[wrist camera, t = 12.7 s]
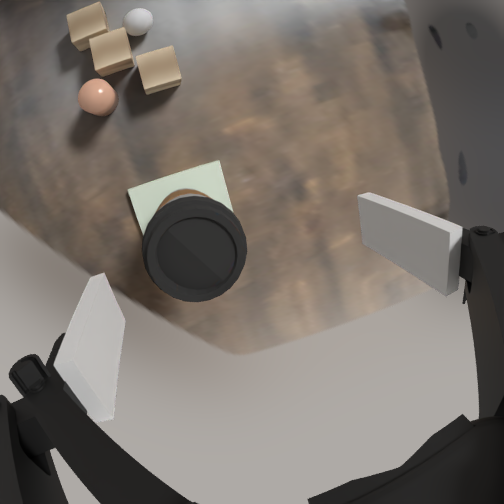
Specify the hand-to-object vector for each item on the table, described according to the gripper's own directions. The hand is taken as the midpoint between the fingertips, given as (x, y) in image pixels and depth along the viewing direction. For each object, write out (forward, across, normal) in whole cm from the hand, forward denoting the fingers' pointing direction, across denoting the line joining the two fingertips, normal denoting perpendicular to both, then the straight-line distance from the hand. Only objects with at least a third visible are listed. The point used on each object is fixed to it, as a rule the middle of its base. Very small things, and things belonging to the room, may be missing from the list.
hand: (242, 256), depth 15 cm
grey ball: (+23, -2, +21) cm, 31 cm away
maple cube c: (+24, -1, +14) cm, 28 cm away
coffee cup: (+23, -2, -3) cm, 24 cm away
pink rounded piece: (+24, -8, +13) cm, 29 cm away
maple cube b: (+24, -6, +18) cm, 31 cm away
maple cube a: (+24, -8, +22) cm, 34 cm away
